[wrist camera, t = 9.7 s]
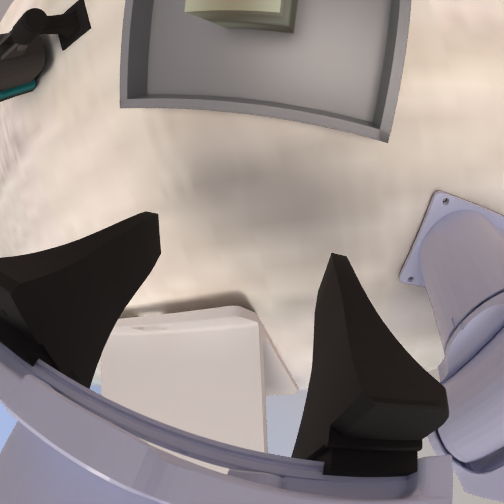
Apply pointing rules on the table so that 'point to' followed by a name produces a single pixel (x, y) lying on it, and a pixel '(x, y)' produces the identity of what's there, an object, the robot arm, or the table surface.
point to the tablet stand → (197, 374)
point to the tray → (271, 63)
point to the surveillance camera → (35, 46)
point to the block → (247, 13)
